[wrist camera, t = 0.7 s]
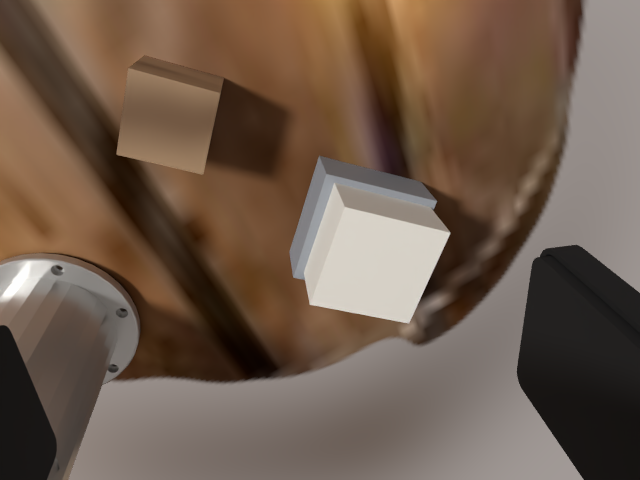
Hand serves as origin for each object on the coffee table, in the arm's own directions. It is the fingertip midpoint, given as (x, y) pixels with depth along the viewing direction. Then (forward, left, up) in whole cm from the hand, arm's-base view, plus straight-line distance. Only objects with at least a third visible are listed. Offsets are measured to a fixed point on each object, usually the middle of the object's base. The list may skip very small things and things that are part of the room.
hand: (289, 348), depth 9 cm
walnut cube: (-3, +5, -28) cm, 28 cm away
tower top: (-8, -10, -24) cm, 27 cm away
